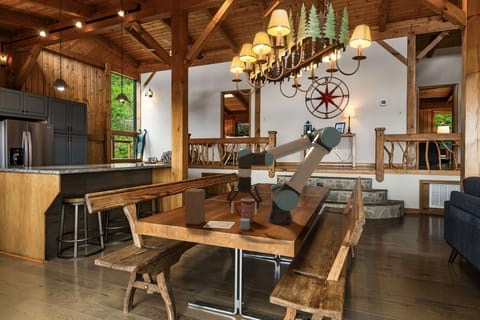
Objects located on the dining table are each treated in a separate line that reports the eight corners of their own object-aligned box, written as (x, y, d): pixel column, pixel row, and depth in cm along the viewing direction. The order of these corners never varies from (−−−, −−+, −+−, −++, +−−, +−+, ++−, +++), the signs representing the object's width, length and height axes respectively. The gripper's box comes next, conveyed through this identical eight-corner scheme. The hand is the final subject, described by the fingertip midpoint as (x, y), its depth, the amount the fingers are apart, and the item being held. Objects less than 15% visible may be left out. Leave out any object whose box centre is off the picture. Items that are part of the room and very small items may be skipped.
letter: (235, 222, 170) (235, 221, 170) (229, 228, 156) (229, 228, 156) (210, 221, 173) (210, 220, 173) (202, 227, 159) (202, 226, 159)
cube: (249, 227, 159) (249, 218, 159) (248, 229, 154) (248, 221, 154) (241, 227, 160) (241, 218, 160) (239, 229, 155) (239, 220, 155)
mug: (256, 220, 176) (256, 198, 175) (252, 223, 167) (252, 201, 167) (237, 218, 180) (237, 197, 179) (232, 221, 171) (232, 200, 171)
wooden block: (200, 225, 164) (199, 191, 163) (184, 224, 166) (183, 190, 165) (205, 220, 173) (205, 189, 173) (190, 220, 175) (190, 188, 175)
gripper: (267, 176, 157) (266, 213, 158) (224, 174, 162) (224, 210, 163) (266, 177, 150) (265, 216, 151) (221, 176, 155) (220, 213, 156)
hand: (243, 213), depth 157 cm, fingers open, 13 cm apart
